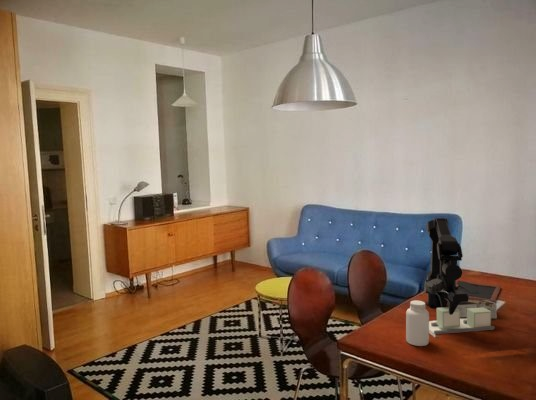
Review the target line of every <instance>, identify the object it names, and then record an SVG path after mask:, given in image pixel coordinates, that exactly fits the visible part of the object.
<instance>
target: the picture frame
mask: <svg viewBox="0 0 536 400" xmlns="http://www.w3.org/2000/svg"><path fill="white" fill-rule="evenodd" d="M456 286H457V287H458V290H455V291H463V292H465V293H466V294H467V295H468V296H469V300H488V301H491V302H494V303H496V300H497V298H498V296H499V293H500V291H501V285H500V286H499V285H492V284H484V283H477V282H470V281H469V282H468V281H462V280H456Z"/></svg>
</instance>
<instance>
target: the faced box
mask: <svg viewBox="0 0 536 400" xmlns="http://www.w3.org/2000/svg"><path fill="white" fill-rule="evenodd" d="M466 318H467V325H468V326H470V327H471V328H473V327H485V326H492V325H491V324H492V318H491V311H490V310H488V309H486V308H484V307H481V308H468V309H467V317H466Z"/></svg>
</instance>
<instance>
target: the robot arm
mask: <svg viewBox="0 0 536 400" xmlns="http://www.w3.org/2000/svg"><path fill="white" fill-rule="evenodd" d="M426 232H427V234H428V236H429V238H430V240H431V250H430V271H429V272H428V273H427V274H426V279H425V280H424V285H423V288H424V289H423V291H424V292H425V294H427V301H424V302H425V304H426V306H428V307H429V308H431V309H435V308H442V307H449V314H450V315H452V314H453V313H454V311H455V309H456V308H457V306H458V305H459V303H460V302H466V301H469V296H468V295H467V294H466V293H465V292H463V291H455V290H458V287H457V286H456V283H457V281H459V280H460V279H461V278H462V276H463V270H462V268H461V267H460V266H459V264H458V262H459V261H460V262H461V261H463V260H462V259H463V257H464V255H463V250H462V246H461V244H460V243H459V242H458V240H457V238H456V237H454V236H452V234H451V231H450V222H449V220H448V219H447V218H446V217H435V218H433V219H431V220H428V221H427V222H426Z"/></svg>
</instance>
